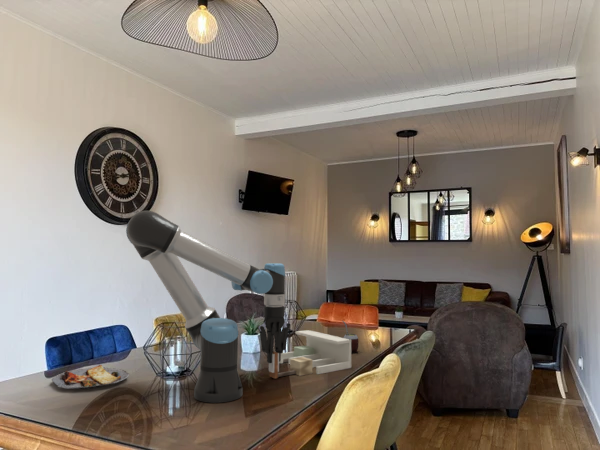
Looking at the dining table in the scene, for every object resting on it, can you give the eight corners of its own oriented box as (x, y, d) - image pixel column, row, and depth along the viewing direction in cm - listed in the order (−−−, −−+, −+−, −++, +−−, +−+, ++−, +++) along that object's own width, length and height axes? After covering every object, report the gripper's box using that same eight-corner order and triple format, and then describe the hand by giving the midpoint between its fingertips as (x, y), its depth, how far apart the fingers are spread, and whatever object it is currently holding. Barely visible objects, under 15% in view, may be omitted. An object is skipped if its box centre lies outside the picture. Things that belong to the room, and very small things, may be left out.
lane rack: (317, 374, 173) (317, 344, 174) (276, 360, 196) (276, 333, 196) (351, 367, 183) (351, 339, 184) (308, 355, 206) (308, 330, 206)
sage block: (282, 364, 188) (282, 341, 188) (274, 362, 193) (274, 339, 193) (313, 359, 197) (313, 337, 198) (305, 357, 202) (305, 335, 203)
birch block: (276, 380, 165) (277, 353, 165) (267, 376, 170) (267, 350, 170) (312, 373, 174) (312, 348, 175) (302, 370, 179) (302, 345, 180)
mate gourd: (358, 351, 215) (358, 318, 216) (358, 354, 207) (358, 320, 208) (342, 350, 216) (342, 318, 217) (342, 354, 208) (342, 320, 209)
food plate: (45, 379, 163) (46, 369, 164) (112, 369, 178) (113, 360, 179) (63, 398, 144) (63, 387, 144) (137, 386, 159) (137, 375, 159)
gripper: (263, 308, 162) (262, 376, 160) (296, 305, 170) (295, 370, 169) (252, 305, 168) (251, 372, 166) (284, 303, 176) (284, 366, 175)
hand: (273, 371), depth 168 cm, fingers closed on birch block
